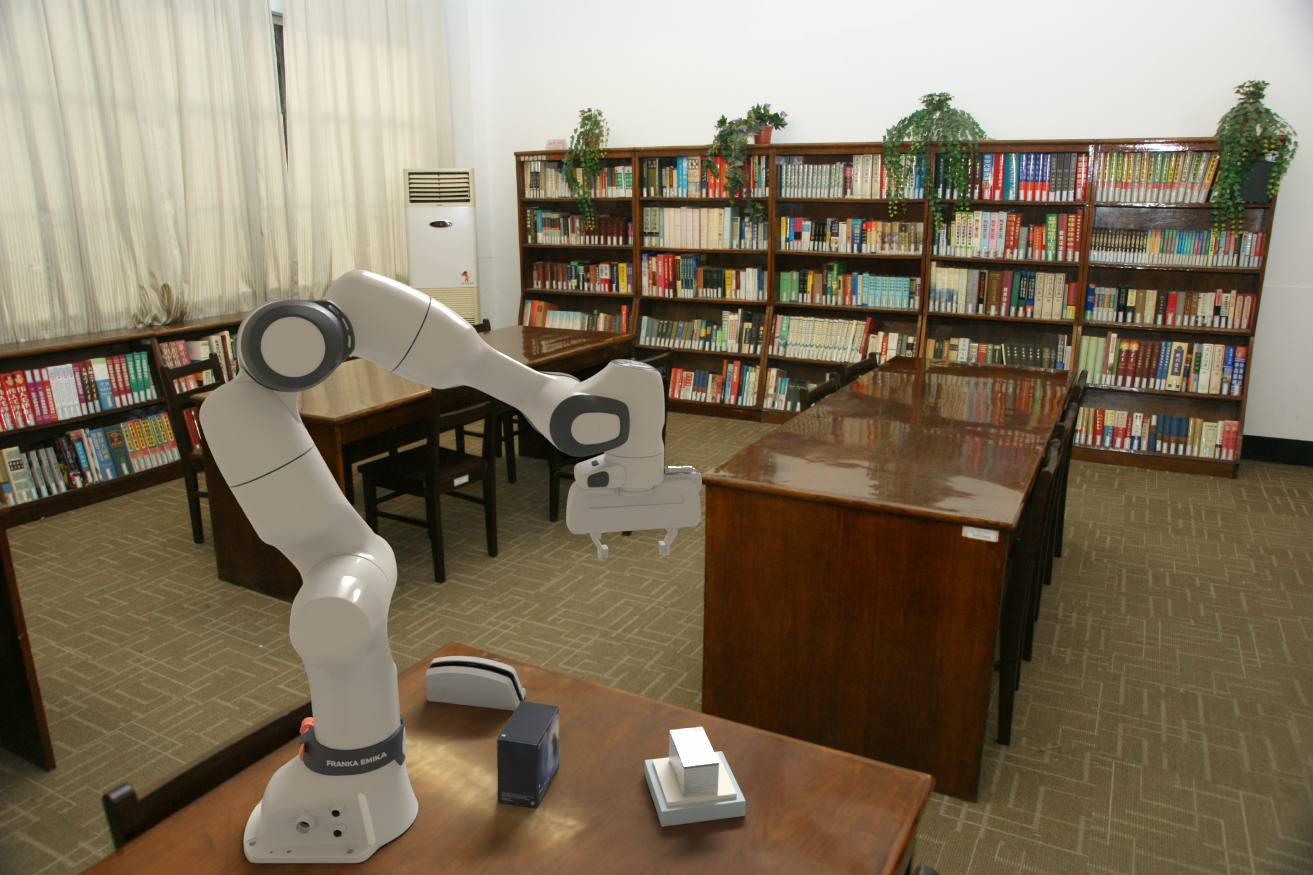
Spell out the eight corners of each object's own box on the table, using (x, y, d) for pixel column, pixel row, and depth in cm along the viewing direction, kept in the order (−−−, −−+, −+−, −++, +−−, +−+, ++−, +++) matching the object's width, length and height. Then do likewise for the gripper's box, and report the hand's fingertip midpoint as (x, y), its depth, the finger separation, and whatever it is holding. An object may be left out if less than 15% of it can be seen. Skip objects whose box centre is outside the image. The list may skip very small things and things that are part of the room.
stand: (661, 826, 124) (661, 807, 124) (644, 773, 136) (644, 756, 135) (745, 815, 127) (745, 796, 126) (721, 764, 138) (722, 747, 137)
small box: (539, 809, 128) (538, 744, 125) (496, 803, 129) (493, 738, 126) (562, 765, 138) (561, 704, 135) (521, 759, 139) (519, 698, 136)
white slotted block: (528, 695, 157) (521, 655, 151) (520, 717, 153) (512, 677, 147) (437, 685, 160) (427, 645, 154) (427, 706, 156) (416, 667, 150)
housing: (668, 759, 134) (669, 730, 133) (701, 755, 135) (702, 726, 134) (683, 797, 126) (684, 766, 124) (717, 793, 127) (718, 762, 125)
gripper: (696, 459, 139) (694, 543, 142) (563, 465, 135) (565, 552, 138) (707, 471, 133) (705, 558, 136) (568, 478, 129) (570, 568, 132)
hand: (633, 555), depth 137 cm, fingers open, 8 cm apart
